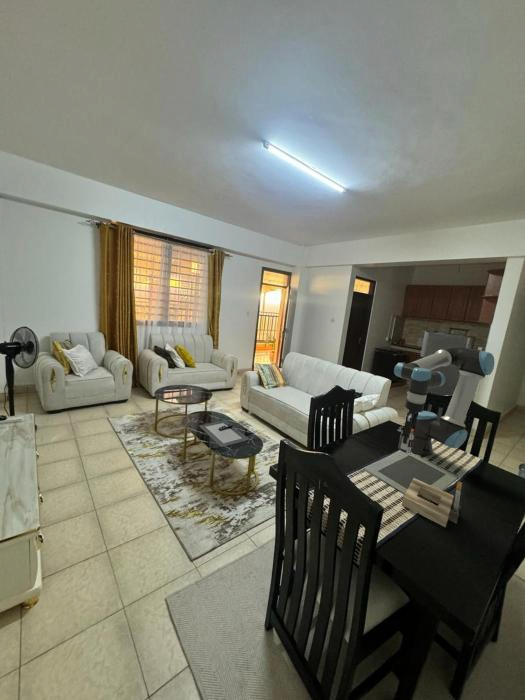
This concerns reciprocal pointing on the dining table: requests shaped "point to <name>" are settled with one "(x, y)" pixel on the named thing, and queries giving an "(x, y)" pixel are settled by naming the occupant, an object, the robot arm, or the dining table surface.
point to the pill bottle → (410, 444)
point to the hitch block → (428, 509)
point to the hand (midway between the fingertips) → (405, 446)
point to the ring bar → (457, 496)
